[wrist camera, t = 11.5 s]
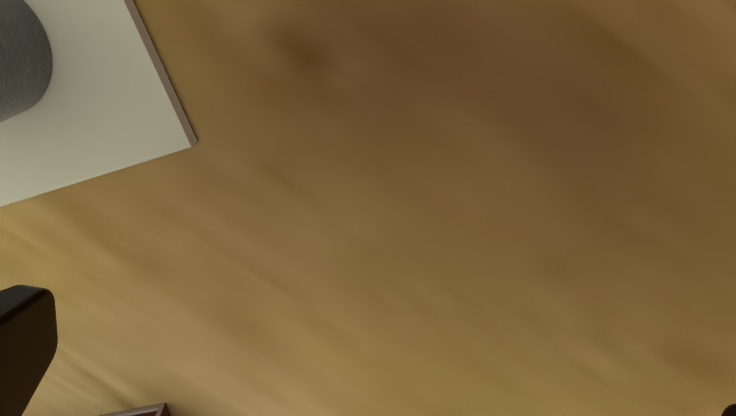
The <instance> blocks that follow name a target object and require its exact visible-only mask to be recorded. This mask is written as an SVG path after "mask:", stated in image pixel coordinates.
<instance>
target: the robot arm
mask: <svg viewBox="0 0 736 416" xmlns="http://www.w3.org/2000/svg"><path fill="white" fill-rule="evenodd" d="M57 343H58V336H57V323H56V310H55V299H54V296H53V293H52V292H51V291H50V290H48V289H45V288H40V287H34V286H28V285H16V286H13V287H10V288H7V289H4V290H2V291H0V416H22V414H23V412H24V410H25V409H26V407H27V405H28V403H29V401H30V400H31V398H32V396H33V394H34V392H35V391H36V389H37V387H38V385H39V383H40V381H41V380H42V378H43V376H44V374H45V372H46V371H47V369H48V367H49V365H50V363H51V361H52V360H53V358H54V355H55V352H56V349H57ZM721 416H736V404H732V405H729V406H728V407H727V408H725V410H724V411H723V413H722V415H721Z"/></svg>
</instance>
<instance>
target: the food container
mask: <svg viewBox="0 0 736 416" xmlns="http://www.w3.org/2000/svg"><path fill="white" fill-rule="evenodd" d="M100 416H171V415H170V412H169V410H168V408H167V406H166V403H162V404H157V405H152V406H146V407H141V408H136V409H131V410H126V411H120V412H115V413H110V414H105V415H100Z"/></svg>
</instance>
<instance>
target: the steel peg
mask: <svg viewBox="0 0 736 416" xmlns="http://www.w3.org/2000/svg"><path fill="white" fill-rule="evenodd" d="M52 63H53V62H52V52H51V47H50V43H49V40H48V37H47V34H46V32H45V30H44V28H43V26H42V24H41V22H40V20H39V19H38V17H37V16H36V14H35V13H34V12H33V10H32V9H31V8H30V6H29V5H28V4H27V3H26V2H25V1H24V0H0V122H2V121H5V120H7V119H9V118H11V117H13V116H16V115H18V114H20V113H22V112H24V111H26V110H28V109H30V108H31V107H33V106H34V105H35V104H36V103H37V102H39V101H40V99H41V98H42V97H43V95H44V94H45V92H46V90H47V88H48V86H49V83H50V80H51V75H52Z"/></svg>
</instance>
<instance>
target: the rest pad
mask: <svg viewBox="0 0 736 416" xmlns="http://www.w3.org/2000/svg"><path fill="white" fill-rule="evenodd" d="M24 1H25V2H26V3H27V4H28V5H29V6H30V8H31V9H32V10H33V12H34V13H35V14H36V16H37V17H38V19H39V20H40V22H41V24H42V26H43V28H44V30H45V32H46V34H47V37H48V40H49V43H50V47H51V52H52V62H53V63H52V75H51V80H50V83H49V86H48V88H47V90H46V92H45V94H44V95H43V97H42V98H41V99H40V101H39V102H37V103H36V104H35V105H34V106H33V107H31V108H30V109H28V110H26V111H24V112H22V113H20V114H18V115H16V116H13V117H11V118H9V119H7V120H5V121H2V122H0V207H1V206H4V205H7V204H11V203H14V202H17V201H20V200H23V199H27V198H30V197H33V196H36V195H40V194H43V193H46V192H49V191H52V190H56V189H59V188H62V187H65V186H68V185H72V184H75V183H78V182H81V181H84V180H88V179H91V178H94V177H97V176H100V175H104V174H107V173H110V172H113V171H116V170H120V169H123V168H126V167H129V166H133V165H136V164H139V163H142V162H145V161H149V160H152V159H155V158H158V157H161V156H165V155H168V154H171V153H174V152H177V151H181V150H184V149H187V148H190V147H192V146H193V145H194V144H195V143H196V142H197V139H196V137H195V135H194V133H193V131H192V128H191V126H190V124H189V122H188V120H187V117H186V115H185V113H184V111H183V109H182V107H181V104H180V102H179V100H178V98H177V96H176V93H175V91H174V89H173V87H172V85H171V82H170V80H169V78H168V76H167V74H166V71H165V69H164V67H163V65H162V63H161V61H160V58H159V56H158V54H157V52H156V50H155V47H154V45H153V43H152V41H151V39H150V36H149V34H148V32H147V30H146V28H145V26H144V23H143V21H142V19H141V17H140V15H139V12H138V10H137V8H136V6H135V4H134V1H133V0H24Z"/></svg>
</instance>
